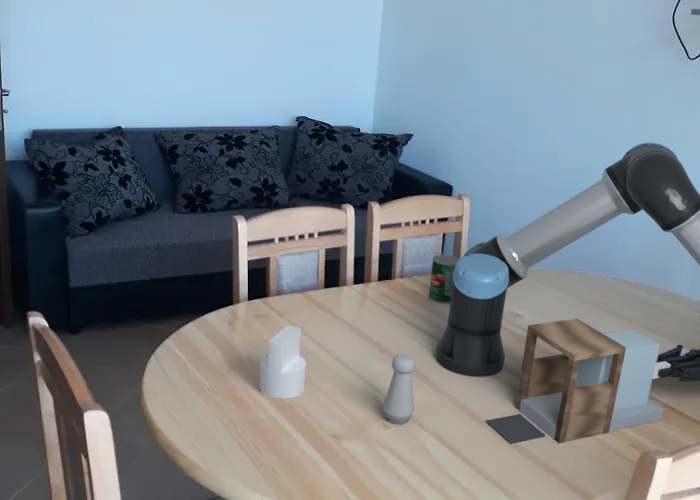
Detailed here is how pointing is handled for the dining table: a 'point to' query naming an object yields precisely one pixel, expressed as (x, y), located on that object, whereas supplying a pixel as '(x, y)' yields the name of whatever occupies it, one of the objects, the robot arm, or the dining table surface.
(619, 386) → the block
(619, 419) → the runway
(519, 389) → the tunnel
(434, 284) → the canned tomato
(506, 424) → the dark grey square plate
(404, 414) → the salt shaker
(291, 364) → the cylinder with rectangular tab
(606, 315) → the dining table surface
